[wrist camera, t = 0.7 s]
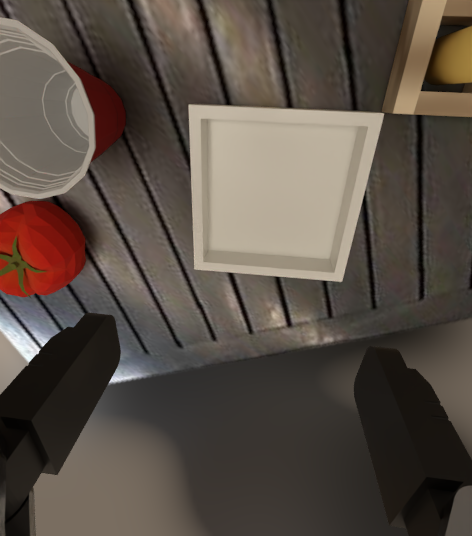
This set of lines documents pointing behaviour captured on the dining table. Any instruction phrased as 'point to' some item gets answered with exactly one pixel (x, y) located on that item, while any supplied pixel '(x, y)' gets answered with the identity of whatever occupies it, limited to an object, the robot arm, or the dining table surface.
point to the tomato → (39, 249)
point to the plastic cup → (49, 116)
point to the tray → (278, 187)
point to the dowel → (451, 59)
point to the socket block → (425, 61)
